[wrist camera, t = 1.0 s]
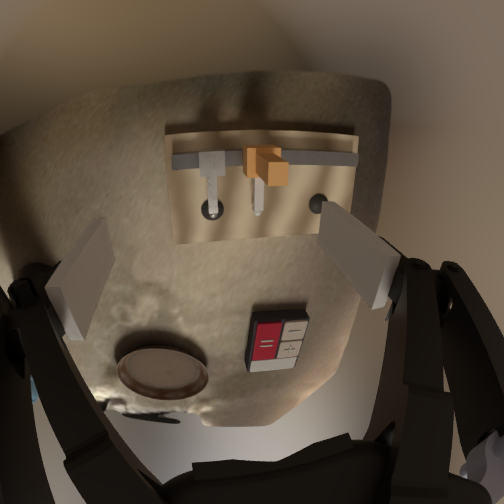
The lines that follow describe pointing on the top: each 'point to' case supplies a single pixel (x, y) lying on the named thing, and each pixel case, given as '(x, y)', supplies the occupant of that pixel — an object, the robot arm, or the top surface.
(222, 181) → the hole plate
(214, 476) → the robot arm
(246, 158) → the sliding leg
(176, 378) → the plant saucer
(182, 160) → the rail
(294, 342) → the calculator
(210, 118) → the top surface
